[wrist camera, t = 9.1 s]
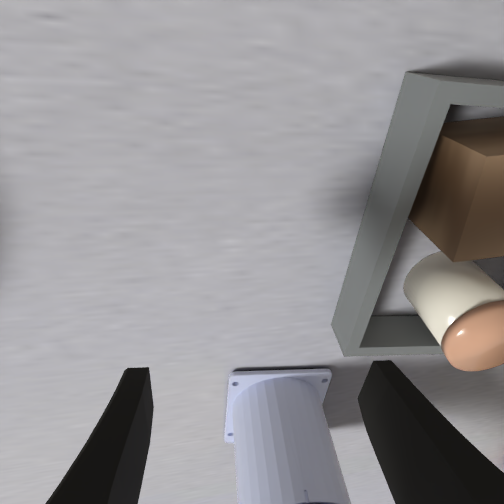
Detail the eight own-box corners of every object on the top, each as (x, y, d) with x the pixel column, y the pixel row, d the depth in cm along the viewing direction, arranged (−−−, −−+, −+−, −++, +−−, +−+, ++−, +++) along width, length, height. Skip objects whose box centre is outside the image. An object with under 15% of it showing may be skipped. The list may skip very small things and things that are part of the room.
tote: (495, 322, 26) (523, 351, 24) (331, 324, 24) (344, 356, 22) (645, 93, 17) (712, 104, 15) (405, 71, 16) (439, 80, 13)
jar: (454, 306, 25) (509, 370, 20) (392, 305, 24) (434, 371, 19) (486, 250, 22) (557, 310, 18) (417, 247, 21) (473, 309, 17)
